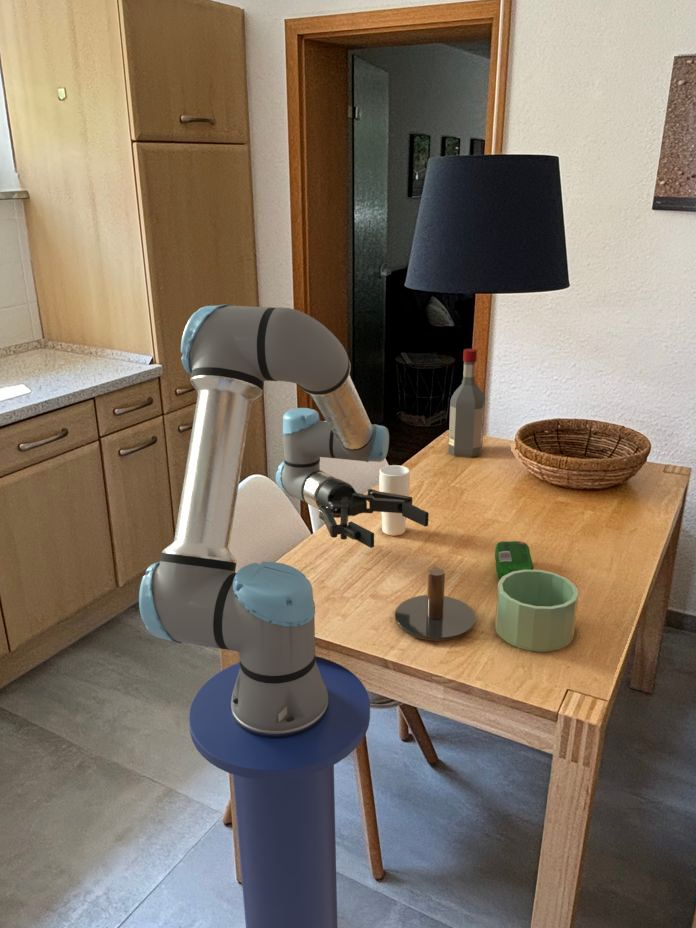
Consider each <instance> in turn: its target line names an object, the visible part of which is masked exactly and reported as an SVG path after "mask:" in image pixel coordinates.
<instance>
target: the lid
mask: <svg viewBox="0 0 696 928" xmlns="http://www.w3.org/2000/svg"><path fill="white" fill-rule="evenodd" d="M445 581H446V571H445V570H444V569H443V568H440V567H431V568H429V569H428V570H427V594H423V595H417V596H413V597H411V598H408V599H405V600H404V601H402V602H401V603H400V604H399V605H398V606H397V607H396V608H395V611H394V620H395V623H396V625H397V626H398V627H399V629H401V630H402V631H403V632H405V633H406V634H408V635H410V636H412V637H415V638H419V639H423V640H427V641H428V640H429V641H449V640H454V639H457V638H461V637H463V636H465V635H467V634H468V633H470V632H471V631H472V630H473V629H474V627H475V626H476V625H475V624H476V614H475V611H474V610H473V609H472V607H470V606H469V605H468V604H467V603H465V602H464V601H462V600H460V599H458V598H454V597H451V596H448V595H447V596H446V595H445V585H446V584H445V583H446V582H445Z"/></svg>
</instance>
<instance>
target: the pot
mask: <svg viewBox="0 0 696 928" xmlns="http://www.w3.org/2000/svg"><path fill="white" fill-rule="evenodd" d="M496 589H497V590H496V602H495V603H496V604H495V616H494V617H495V619H494V624H495V627H494V628H495V631H496V633H497V634H498V636H499V638H501V639H502V640H503V641H504V642H506V643H507V644H509V645H511V646H513V647H516V648H518V649H521V650H524V651H525V650H526V651H530V652H539V653H540V652H541V653H544V652H545V653H547V652H553V651H558V650H561V649H564V648H565V647H567V646H568V645H569V644H570V643H572V640H573V639H574V634H575V630H576V624H577V623H576V622H577V615H578V604H579V596H580V592H579V590H578V587H577V585H576V584H575V583H574V582H572V581H571V580H570V579H569V578H568V577H565V576H562V575H560V574H559V573H556V572H551V571H547V570H543V569H534V570H519V571H513V572H510V573H509V574H507V575H505V576H503V577H502V578H501V579H500V581H499V580H498V582H497V587H496Z"/></svg>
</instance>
